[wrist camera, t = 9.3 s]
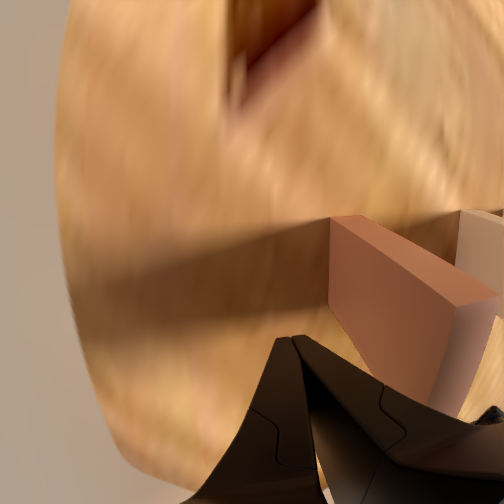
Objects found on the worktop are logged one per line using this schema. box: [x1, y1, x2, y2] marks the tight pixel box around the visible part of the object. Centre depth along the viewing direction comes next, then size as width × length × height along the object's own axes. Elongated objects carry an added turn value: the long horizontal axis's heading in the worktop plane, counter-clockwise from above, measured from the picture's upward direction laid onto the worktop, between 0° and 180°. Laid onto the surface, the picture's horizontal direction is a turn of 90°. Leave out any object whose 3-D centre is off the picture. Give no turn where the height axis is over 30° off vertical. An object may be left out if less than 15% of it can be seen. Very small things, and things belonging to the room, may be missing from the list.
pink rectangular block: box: [328, 216, 501, 418], centre depth 11 cm, size 2×4×9 cm, turn 3°
